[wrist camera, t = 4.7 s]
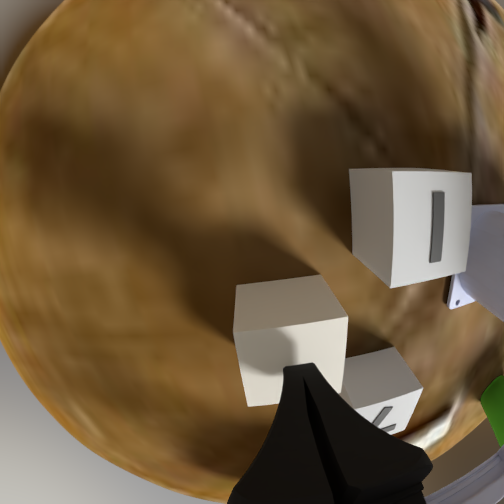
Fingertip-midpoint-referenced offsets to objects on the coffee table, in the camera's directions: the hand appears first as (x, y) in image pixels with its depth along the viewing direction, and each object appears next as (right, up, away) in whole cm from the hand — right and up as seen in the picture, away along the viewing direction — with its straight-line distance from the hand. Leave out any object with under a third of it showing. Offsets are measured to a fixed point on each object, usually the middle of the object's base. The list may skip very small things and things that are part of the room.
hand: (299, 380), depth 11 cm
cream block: (0, +2, +6) cm, 6 cm away
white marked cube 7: (+7, -4, +8) cm, 11 cm away
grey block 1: (+6, +8, +4) cm, 11 cm away
